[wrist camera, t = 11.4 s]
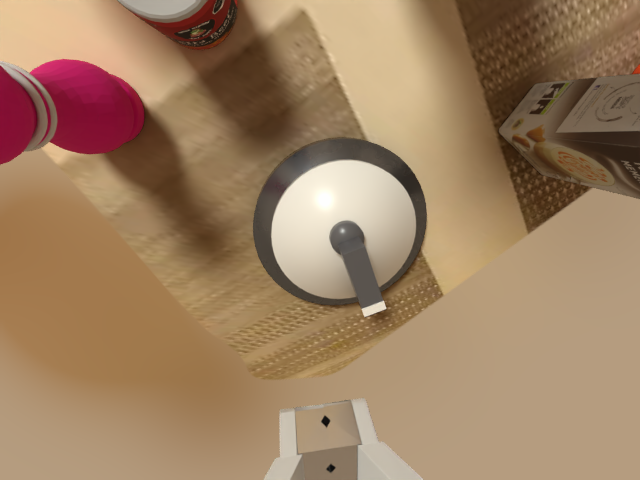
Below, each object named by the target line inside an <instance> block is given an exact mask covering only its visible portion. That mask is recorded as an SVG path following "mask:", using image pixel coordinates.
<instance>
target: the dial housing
mask: <svg viewBox="0 0 640 480" xmlns="http://www.w3.org/2000/svg"><path fill="white" fill-rule="evenodd" d="M339 159H352V160H360V161H364V162H368V163H370V164H373V165H375V166H377V167H379V168H381V169H383V170H385V171H386V172H388V173H390V174H391V175H392V176H393V177H395V178H396V179H397V180H398V181H399V182H400V183H401V184H402V186H403V187H404V188H405V190H406V191H407V193H408V195H409V197H410V199H411V201H412V204H413V207H414V210H415V216H416V233H415V239H414V243H413V246H412V249H411V251H410V254H409V256H408V258H407V259H406V261H405V263H404V264H403V266H402V267H401V268H400V269H399V271H398V272H397V273H396V274H395V275H394V276H393V277H392V278H391V279H390V280H389V281H387V282H386V283H385V284H383V285H382V286H380V287H379V290H380V293H381V292H382V291H384V290H385V289H387V288H388V287H390V286H391V285H392V284H393V283H395V282H396V281H397V280H398V279H399V278H400V277H401V276H402V275H403V274H404V273H405V272H406V270H407V269H408V268H409V267H410V265H411V264H412V262H413V261H414V259H415V257H416V256H417V254H418V251H419V249H420V247H421V244H422V241H423V238H424V234H425V229H426V219H427V213H426V203H425V198H424V194H423V191H422V189H421V186H420V183H419V182H418V180H417V178H416V176H415V174H414V173H413V172H412V170H411V169H410V168H409V167H408V165H407V164H406V163H405V162H404V161H403V160H402V159H401V158H399V157H398V156H397V155H395V154H394V153H392V152H391V151H389V150H388V149H386V148H384V147H382V146H380V145H377V144H374V143H371V142H368V141H365V140H361V139H355V138H344V137H338V138H328V139H324V140H320V141H316V142H313V143H311V144H308V145H305V146H303V147H302V148H300V149H298V150H296V151H294V152H293V153H292V154H290V155H289V156H288V157H286V158H285V159H284V160H283V161H282V162H281V163H280V164H279V165H278V166H277V167H276V168H275V169H274V170H273V172H272V173H271V174H270V175H269V177H268V178H267V180H266V182H265V184H264V185H263V187H262V190H261V192H260V194H259V197H258V201H257V205H256V208H255V213H254V222H253V236H254V242H255V247H256V250H257V253H258V256H259V258H260V261H261V263H262V265H263V267H264V268H265V269H266V271H267V272H268V274H269V275H270V276H271V277H272V279H273V280H274V281H275V282H276V283H277V284H278V285H280V286H281V287H282V288H283V289H284V290H286V291H287V292H289V293H291V294H292V295H294V296H296V297H298V298H300V299H303V300H306V301H309V302H312V303H317V304H324V305H344V304H351V303H355V302H358V300H357V297H352V298H345V299H331V298H324V297H320V296H316V295H313V294H311V293H308V292H306V291H304V290H303V289H301V288H299V287H298V286H297V285H295V284H294V283H293V282H292V281H291V280H290V279H289V278H288V277H287V276H286V275H285V274H284V272H283V271H282V270H281V268H280V266H279V264H278V263H277V260H276V258H275V255H274V251H273V247H272V238H271V233H272V220H273V215H274V212H275V209H276V206H277V203H278V201H279V200H280V198H281V196H282V194H283V193H284V191H285V190H286V188H287V187H288V186H289V185H290V184H291V183H292V182H293V181H294V180H295V179H296V178H297V177H298V176H300V175H301V174H302V173H304V172H305V171H307V170H308V169H310V168H312V167H314V166H316V165H319V164H321V163H325V162H328V161H333V160H339Z"/></svg>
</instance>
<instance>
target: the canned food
mask: <svg viewBox="0 0 640 480" xmlns="http://www.w3.org/2000/svg"><path fill="white" fill-rule="evenodd" d="M117 1H118V2H119V3H120V4H122V5H123V6H124V7H125V8H127V9H128V10H129V11H131V12H132V13H133V14H135V15H136V16H137V17H139V18H140V19H142V20H143V21H145V22H146V23H148V24H149V25H151V26H152V27H154V28H155V29H157V30H158V31H160V32H161V33H163V34H164V35H166V36H167V37H169V38H170V39H172V40H173V41H175V42H176V43H178V44H180V45H182V46H184V47H187V48H190V49H197V50H203V49H209V48H212V47H214V46H216V45H218V44H219V43H221V42H222V41H223V40H224V39H225V38H226V37H227V36H228V35H229V33H230V31H231V29H232V28H233V25H234V22H235V19H236V13H237V0H117Z"/></svg>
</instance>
